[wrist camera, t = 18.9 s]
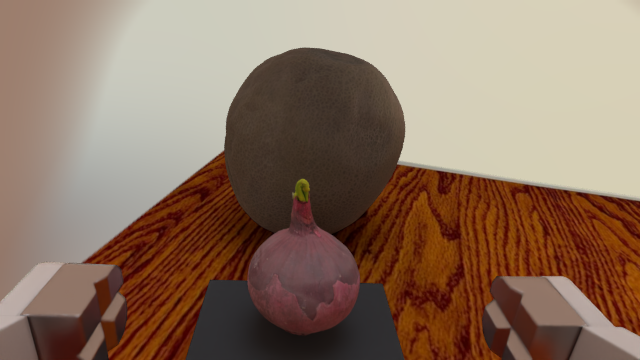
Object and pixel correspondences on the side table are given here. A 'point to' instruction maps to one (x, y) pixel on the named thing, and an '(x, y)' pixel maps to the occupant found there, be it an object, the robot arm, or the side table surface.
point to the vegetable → (303, 274)
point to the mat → (281, 346)
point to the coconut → (312, 137)
